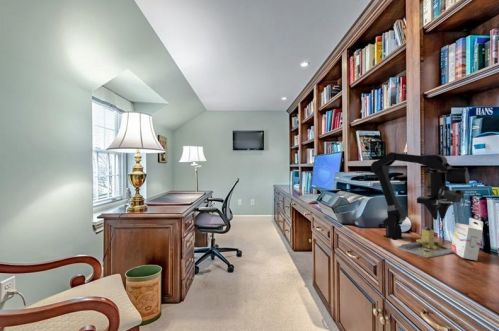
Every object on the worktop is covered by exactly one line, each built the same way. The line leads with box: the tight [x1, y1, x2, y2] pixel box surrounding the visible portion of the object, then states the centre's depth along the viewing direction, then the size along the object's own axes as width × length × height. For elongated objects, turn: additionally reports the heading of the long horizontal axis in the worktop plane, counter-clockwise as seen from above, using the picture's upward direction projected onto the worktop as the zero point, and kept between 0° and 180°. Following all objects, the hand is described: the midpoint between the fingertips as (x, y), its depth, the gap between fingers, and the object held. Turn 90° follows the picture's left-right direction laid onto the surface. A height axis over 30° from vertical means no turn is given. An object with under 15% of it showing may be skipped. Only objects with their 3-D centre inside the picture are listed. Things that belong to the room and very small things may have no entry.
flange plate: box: [397, 244, 455, 259], centre depth 105 cm, size 13×19×1 cm
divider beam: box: [401, 239, 445, 249], centre depth 107 cm, size 8×18×3 cm, turn 107°
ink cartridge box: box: [450, 217, 484, 262], centre depth 96 cm, size 9×5×15 cm, turn 167°
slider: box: [415, 226, 437, 249], centre depth 107 cm, size 8×3×8 cm, turn 17°
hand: (439, 219), depth 109 cm, fingers open, 4 cm apart
